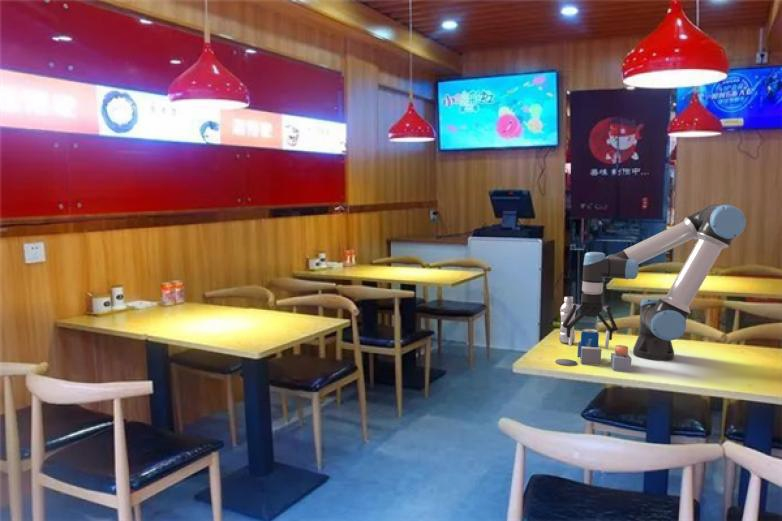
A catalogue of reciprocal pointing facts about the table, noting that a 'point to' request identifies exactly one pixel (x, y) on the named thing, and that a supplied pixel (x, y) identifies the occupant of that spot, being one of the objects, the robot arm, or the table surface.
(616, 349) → the plunger
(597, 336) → the beverage can
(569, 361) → the pad
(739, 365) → the table surface
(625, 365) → the block
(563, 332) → the plastic bottle
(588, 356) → the cradle
